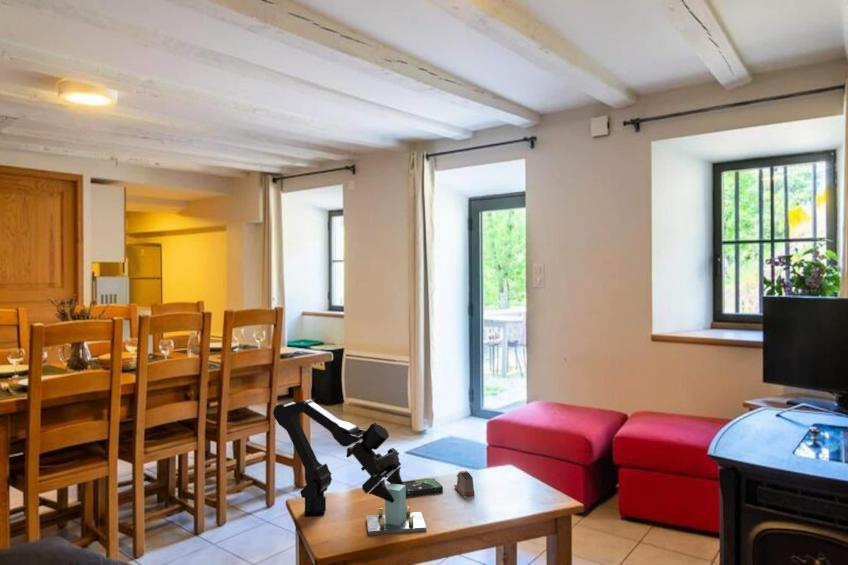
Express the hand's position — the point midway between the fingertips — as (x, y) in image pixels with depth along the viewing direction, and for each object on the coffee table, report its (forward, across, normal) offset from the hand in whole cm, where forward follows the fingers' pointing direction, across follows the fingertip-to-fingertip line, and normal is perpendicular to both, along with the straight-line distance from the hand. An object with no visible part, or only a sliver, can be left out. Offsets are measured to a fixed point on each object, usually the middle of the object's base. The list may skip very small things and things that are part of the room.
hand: (399, 496), depth 183 cm
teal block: (+5, 0, +7) cm, 8 cm away
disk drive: (+4, +31, +11) cm, 33 cm away
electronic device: (+14, +35, -1) cm, 38 cm away
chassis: (+6, 0, +8) cm, 9 cm away
